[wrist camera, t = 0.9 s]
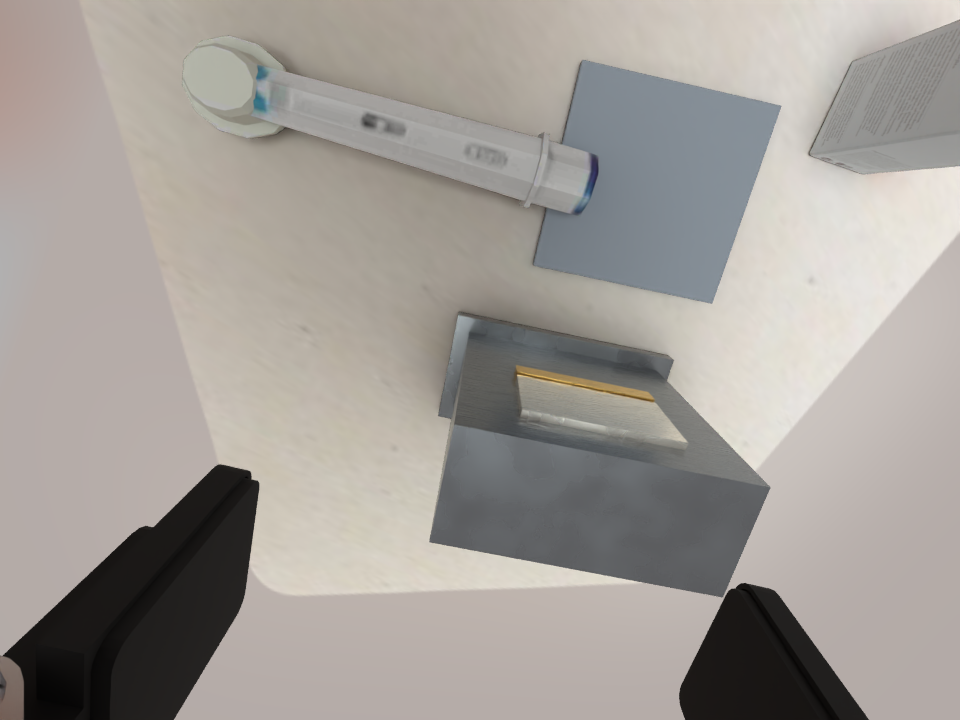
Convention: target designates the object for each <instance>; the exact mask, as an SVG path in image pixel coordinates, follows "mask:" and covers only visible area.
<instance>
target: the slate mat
mask: <svg viewBox="0 0 960 720" xmlns="http://www.w3.org/2000/svg"><path fill="white" fill-rule="evenodd" d="M780 109H781V106H780V105H775V104H771V103H767V102H762V101H758V100H754V99H749V98H745V97H741V96H737V95H732V94H728V93H724V92H719V91H715V90H711V89H706V88H702V87H698V86H693V85H689V84H685V83H681V82H676V81H672V80H668V79H663V78H659V77H655V76H650V75H646V74H642V73H637V72H633V71H629V70H625V69H620V68H616V67H612V66H607V65H603V64H599V63H594V62H590V61H586V60H582V62H581V64H580V68H579V72H578V77H577V81H576V85H575V89H574V93H573V98H572V102H571V106H570V110H569V115H568V119H567V123H566V127H565V131H564V136H563V140H562V145H565V146H569V147H572V148H575V149H579V150H582V151H585V152H589V153H592V154H595V155H599V174H598V177H597V180H596V183H595V186H594V190H593V193H592V196H591V199H590V201H589V203H588V204H587V206H586V207H585V209H584V211H583V212H582V214H581V216H576V215H572V214H568V213H565V212H561V211H558V210H554V209H550V208H547V207H546V211H545V216H544V220H543V224H542V228H541V233H540V237H539V241H538V245H537V249H536V254H535V258H534V262H533V265H534V266H538V267H543V268H548V269H552V270H557V271H562V272H566V273H571V274H576V275H580V276H585V277H590V278H594V279H599V280H604V281H609V282H613V283H618V284H623V285H627V286H632V287H637V288H641V289H646V290H651V291H655V292H660V293H665V294H669V295H674V296H679V297H683V298H688V299H693V300H697V301H702V302H707V303H711V304H712V303H713V300H714V297H715V294H716V291H717V288H718V285H719V283H720V280H721V277H722V274H723V271H724V268H725V266H726V263H727V260H728V257H729V254H730V251H731V248H732V246H733V243H734V240H735V237H736V234H737V231H738V228H739V226H740V223H741V220H742V217H743V214H744V211H745V209H746V206H747V203H748V200H749V197H750V194H751V191H752V189H753V186H754V183H755V180H756V177H757V174H758V171H759V169H760V166H761V163H762V160H763V157H764V154H765V152H766V149H767V146H768V143H769V140H770V137H771V134H772V132H773V129H774V126H775V123H776V120H777V117H778V114H779V112H780Z"/></svg>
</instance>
